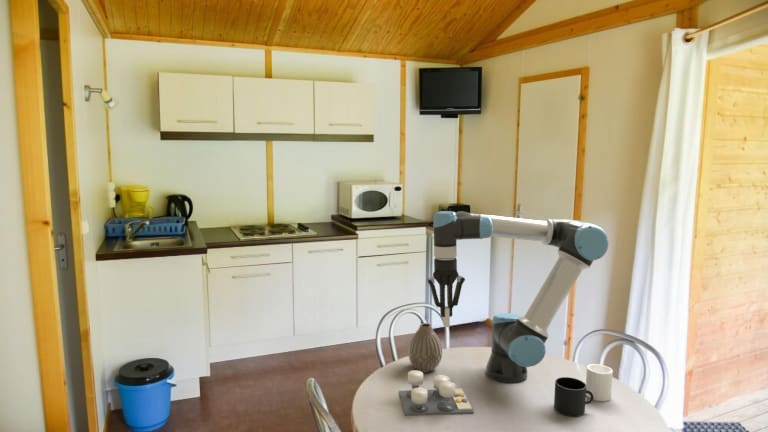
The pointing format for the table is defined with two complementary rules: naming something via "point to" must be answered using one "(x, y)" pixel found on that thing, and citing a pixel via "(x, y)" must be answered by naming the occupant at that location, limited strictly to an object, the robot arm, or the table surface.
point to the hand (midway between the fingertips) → (446, 325)
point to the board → (436, 404)
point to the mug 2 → (599, 382)
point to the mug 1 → (570, 396)
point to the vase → (425, 349)
